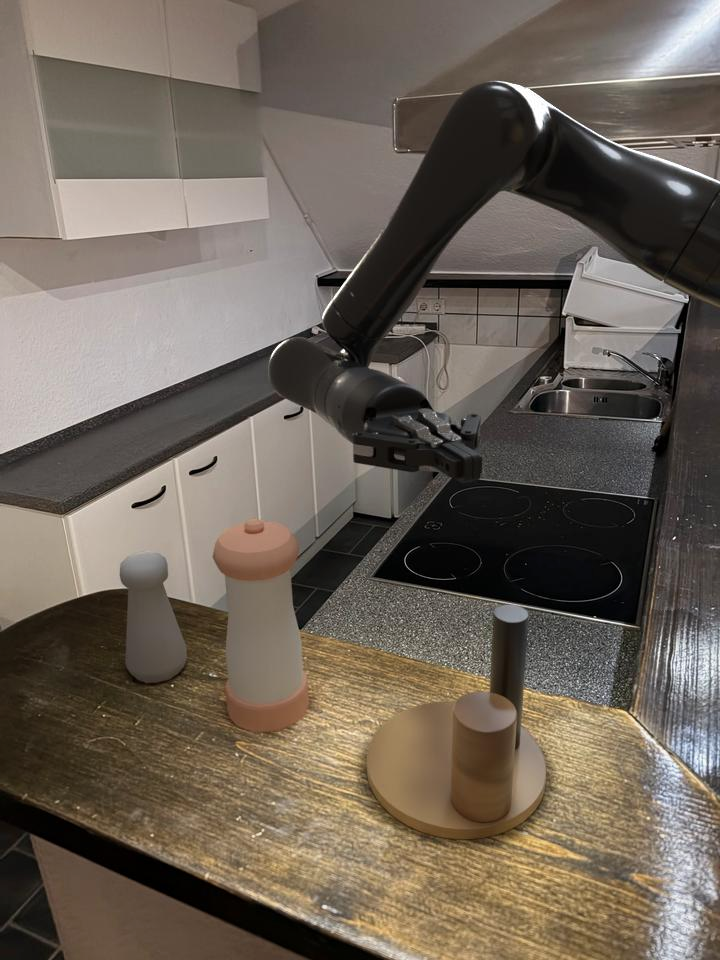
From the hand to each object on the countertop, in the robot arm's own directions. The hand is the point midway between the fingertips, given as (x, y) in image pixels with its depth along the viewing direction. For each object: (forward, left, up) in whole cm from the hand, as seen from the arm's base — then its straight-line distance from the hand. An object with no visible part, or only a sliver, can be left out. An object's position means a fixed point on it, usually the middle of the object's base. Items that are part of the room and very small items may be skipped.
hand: (473, 470), depth 59 cm
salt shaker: (+23, -18, -24) cm, 38 cm away
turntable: (+4, +6, -23) cm, 24 cm away
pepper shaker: (+15, -8, -24) cm, 30 cm away
